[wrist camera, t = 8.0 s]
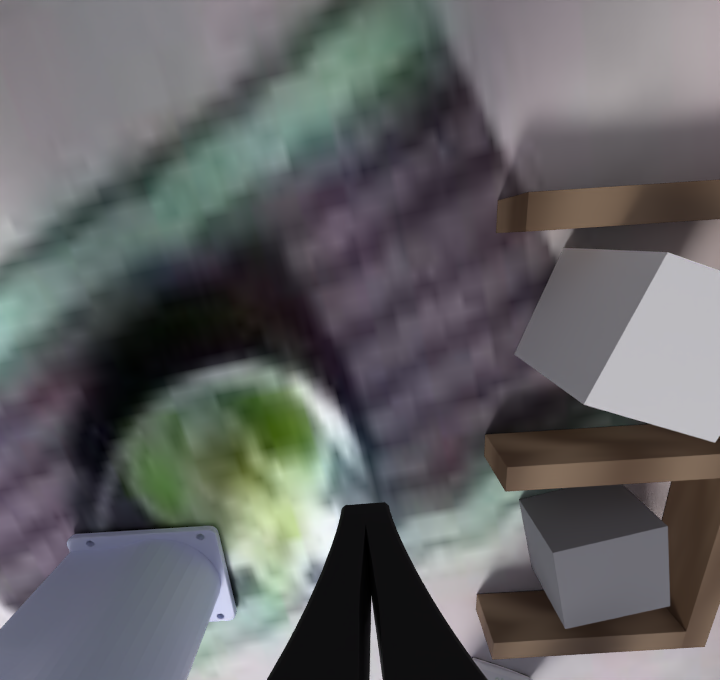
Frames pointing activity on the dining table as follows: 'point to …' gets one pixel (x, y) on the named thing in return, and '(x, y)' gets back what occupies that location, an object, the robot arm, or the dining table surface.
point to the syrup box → (498, 671)
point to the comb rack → (614, 461)
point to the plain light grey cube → (632, 336)
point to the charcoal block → (597, 553)
